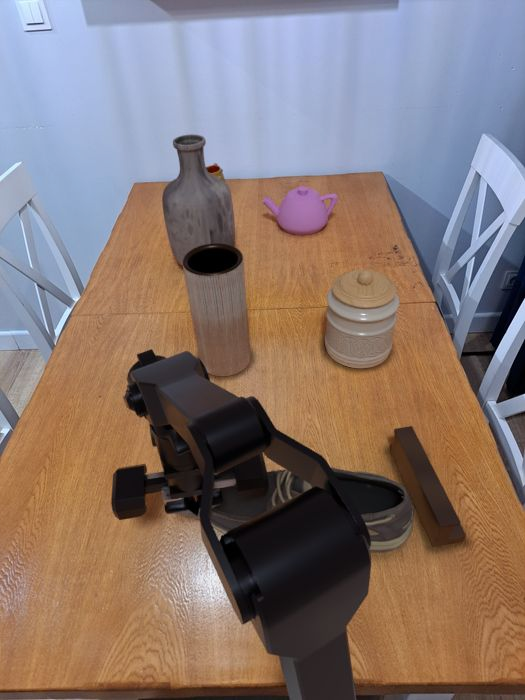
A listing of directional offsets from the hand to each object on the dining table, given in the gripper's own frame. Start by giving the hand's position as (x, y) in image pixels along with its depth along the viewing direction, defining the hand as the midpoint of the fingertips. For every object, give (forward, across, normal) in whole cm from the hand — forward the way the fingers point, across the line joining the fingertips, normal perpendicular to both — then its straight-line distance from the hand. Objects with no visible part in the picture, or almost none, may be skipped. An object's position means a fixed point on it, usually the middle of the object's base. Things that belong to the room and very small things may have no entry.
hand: (198, 515), depth 66 cm
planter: (+5, -7, -35) cm, 36 cm away
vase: (+5, -7, -71) cm, 71 cm away
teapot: (+5, -34, -84) cm, 91 cm away
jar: (+4, -33, -32) cm, 47 cm away
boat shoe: (+4, -15, 0) cm, 15 cm away
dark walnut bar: (+4, -33, +1) cm, 33 cm away
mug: (+5, -14, -117) cm, 118 cm away
